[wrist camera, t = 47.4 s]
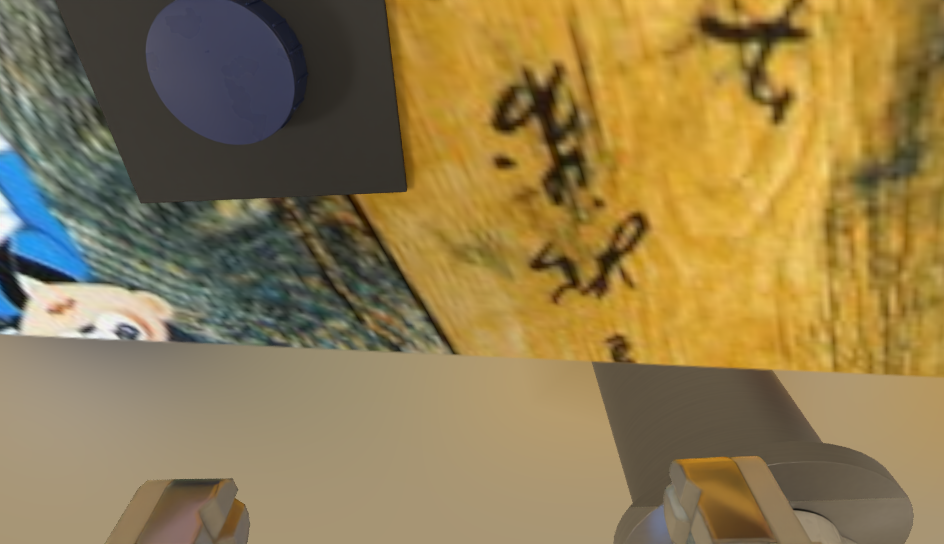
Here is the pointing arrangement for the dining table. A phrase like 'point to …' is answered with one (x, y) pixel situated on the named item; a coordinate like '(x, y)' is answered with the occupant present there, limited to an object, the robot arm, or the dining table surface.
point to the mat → (286, 151)
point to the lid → (226, 68)
